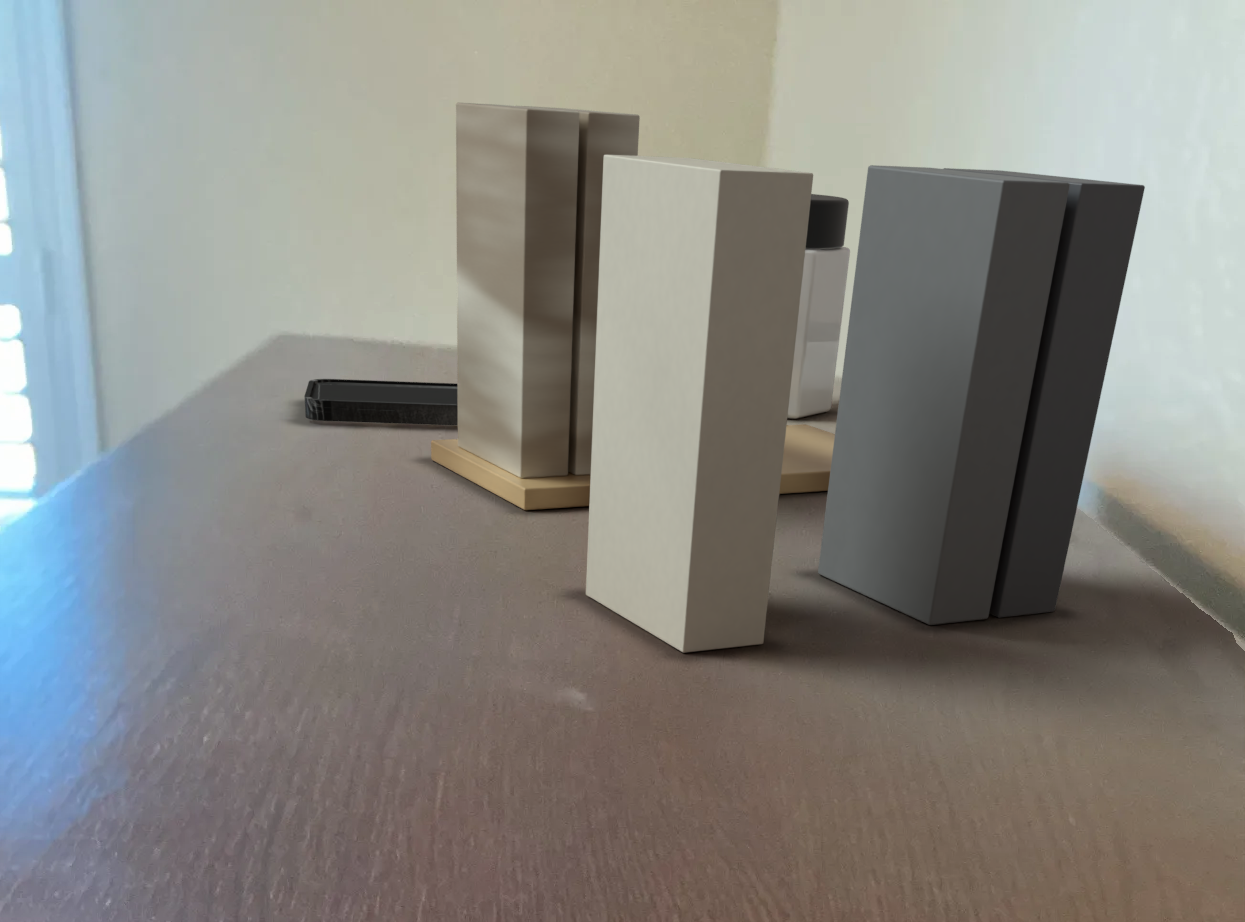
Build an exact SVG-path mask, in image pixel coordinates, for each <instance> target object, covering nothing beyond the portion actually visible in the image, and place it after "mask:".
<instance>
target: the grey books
mask: <svg viewBox="0 0 1245 922" xmlns="http://www.w3.org/2000/svg"><path fill="white" fill-rule="evenodd" d="M865 181H866V182H865V190H864V197H863V206H862V214H861V222H860V229H859V237H858V246H857V252H856V253H857V254H856V260H855V261H856V262H855V270H854V279H853V286H852V294H851V301H850V302H851V303H850V311H849V317H848V327H847V333H846V343H845V351H844V359H843V365H842V375H841V381H840V392H839V399H838V406H837V415H836V423H835V432H834V434H835V438H834V446H833V455H832V463H831V471H830V479H829V487H828V491H827V496H826V503H825V512H824V519H823V528H822V534H821V535H822V536H821V543H820V544H821V545H820V552H819V562H818V569H817V574H818V575H820V576H822V577H824V578H827V579H828V580H830V581H833V582H835V583H836V584H840V585H842V586H844V587H846V588H848V589H849V590H853V591H854V592H857V593H859V594H861V595H863V596H865V597H867V598H870V599H871V600H874V601H876V602H878V603H881V604H883V605H885V606H887V607H889V608H891V609H893V610H896V611H897V612H900V613H902V614H904V615H907V616H909V617H911V618H913V619H916V620H917V621H920V622H922V623H924V624H925V625H929V626H935V625H944V624H954V623H962V622H971V621H980V620H987V619H988V618H989V616H990V615H992V616H994V617H996V618H998V619H1001V618H1009V617H1019V616H1027V615H1037V614H1046V613H1053V612H1055V611H1056V607H1057V604H1058V599H1059V593H1060V588H1061V585H1062V579H1063V574H1064V570H1065V565H1066V561H1067V556H1068V551H1069V546H1070V543H1071V542H1070V541H1071V537H1072V533H1073V527H1074V523H1075V518H1076V515H1077V514H1076V513H1077V509H1078V505H1079V499H1080V495H1081V490H1082V485H1083V480H1084V476H1085V471H1086V467H1087V462H1088V458H1089V452H1090V447H1091V444H1092V438H1093V434H1094V428H1095V425H1096V419H1097V414H1098V410H1099V405H1100V400H1101V397H1102V396H1101V395H1102V392H1103V386H1104V381H1105V377H1106V372H1107V367H1108V363H1109V359H1110V352H1111V349H1112V343H1113V339H1114V335H1115V330H1116V326H1117V322H1118V321H1117V320H1118V316H1119V311H1120V306H1121V302H1122V298H1123V292H1124V288H1125V283H1126V278H1127V275H1128V274H1127V273H1128V270H1129V269H1128V268H1129V264H1130V259H1131V255H1132V249H1133V245H1134V242H1135V241H1134V240H1135V236H1136V232H1137V227H1138V223H1139V222H1138V221H1139V217H1140V213H1141V212H1140V211H1141V208H1142V203H1143V199H1144V193H1145V188H1146V187H1145V185H1144V184H1136V183H1128V182H1127V183H1125V182H1116V181H1106V180H1097V179H1096V180H1095V179H1087V178H1078V177H1068V176H1058V175H1048V174H1039V173H1028V172H1019V171H1010V170H996V169H971V168H952V167H951V168H950V167H949V168H948V167H947V168H946V167H944V168H938V167H927V166H926V167H925V166H924V167H923V166H921V167H920V166H902V165H901V166H897V165H873V164H871V165H868V167H867V173H866V180H865Z"/></svg>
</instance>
